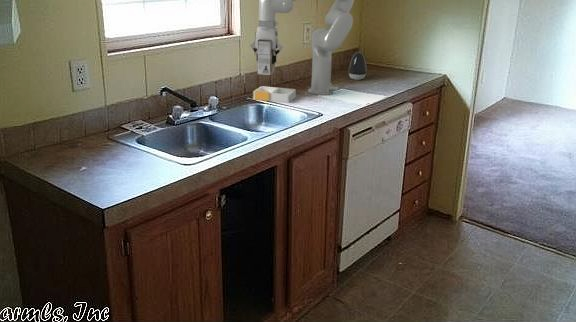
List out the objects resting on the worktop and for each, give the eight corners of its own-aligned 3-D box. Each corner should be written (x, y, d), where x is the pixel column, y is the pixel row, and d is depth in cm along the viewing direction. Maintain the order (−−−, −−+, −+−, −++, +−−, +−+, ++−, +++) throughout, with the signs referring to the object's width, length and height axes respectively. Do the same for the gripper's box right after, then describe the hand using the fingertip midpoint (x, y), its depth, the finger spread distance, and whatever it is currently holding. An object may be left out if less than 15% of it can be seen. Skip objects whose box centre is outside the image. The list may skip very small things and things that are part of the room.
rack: (295, 96, 264) (296, 88, 262) (288, 103, 252) (288, 93, 251) (261, 93, 268) (261, 84, 267) (252, 99, 257) (252, 90, 255)
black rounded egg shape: (369, 78, 307) (371, 51, 302) (361, 81, 299) (363, 54, 294) (352, 76, 312) (354, 49, 307) (344, 79, 304) (346, 52, 299)
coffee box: (262, 70, 262) (262, 37, 256) (274, 71, 261) (275, 37, 255) (257, 74, 254) (257, 39, 248) (270, 75, 253) (271, 40, 247)
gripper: (287, 24, 250) (286, 63, 257) (252, 22, 255) (251, 60, 261) (282, 26, 244) (281, 65, 250) (246, 24, 248) (246, 62, 254)
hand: (266, 62), depth 256 cm, fingers closed on coffee box, 6 cm apart
